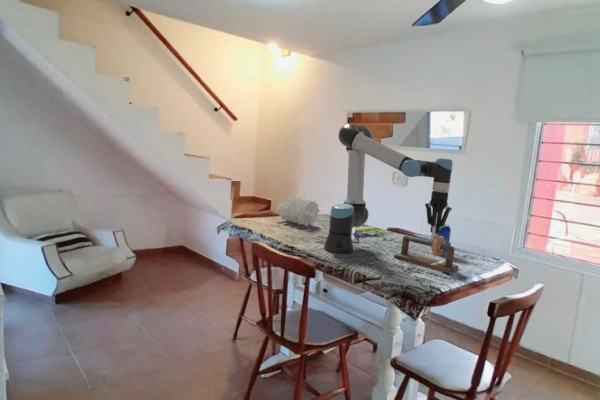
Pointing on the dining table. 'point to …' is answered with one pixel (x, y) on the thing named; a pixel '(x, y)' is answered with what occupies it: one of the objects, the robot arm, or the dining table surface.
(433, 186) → the robot arm
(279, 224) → the dining table surface
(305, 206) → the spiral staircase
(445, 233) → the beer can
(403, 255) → the pipe stand
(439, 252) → the ring
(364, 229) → the figurine
